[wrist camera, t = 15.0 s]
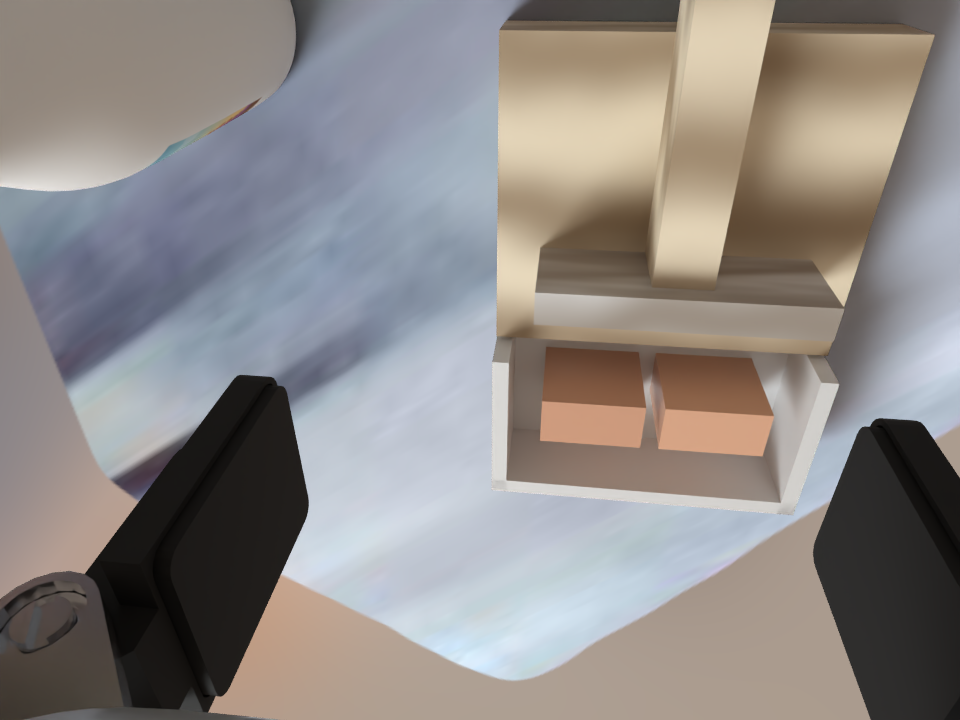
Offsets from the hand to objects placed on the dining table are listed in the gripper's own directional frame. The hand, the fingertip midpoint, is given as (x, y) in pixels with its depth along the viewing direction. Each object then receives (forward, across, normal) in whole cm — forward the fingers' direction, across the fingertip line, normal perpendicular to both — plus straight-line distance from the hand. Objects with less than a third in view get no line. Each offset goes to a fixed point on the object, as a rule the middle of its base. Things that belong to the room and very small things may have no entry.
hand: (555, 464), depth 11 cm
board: (+23, -5, +3) cm, 24 cm away
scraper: (+20, -5, 0) cm, 21 cm away
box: (+23, -5, +14) cm, 28 cm away
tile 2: (+20, -2, +12) cm, 24 cm away
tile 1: (+20, -8, +12) cm, 25 cm away
